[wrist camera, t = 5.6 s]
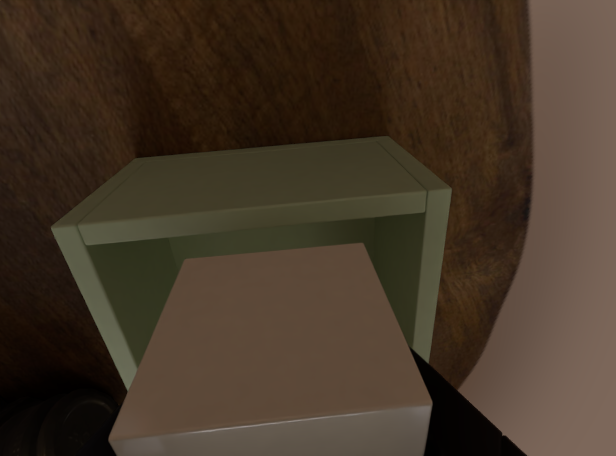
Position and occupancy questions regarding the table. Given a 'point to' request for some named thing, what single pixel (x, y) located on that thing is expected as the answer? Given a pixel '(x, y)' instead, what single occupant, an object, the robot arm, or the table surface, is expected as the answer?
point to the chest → (255, 227)
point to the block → (276, 363)
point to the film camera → (52, 423)
